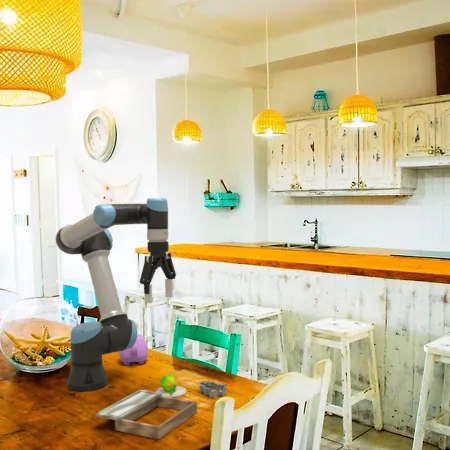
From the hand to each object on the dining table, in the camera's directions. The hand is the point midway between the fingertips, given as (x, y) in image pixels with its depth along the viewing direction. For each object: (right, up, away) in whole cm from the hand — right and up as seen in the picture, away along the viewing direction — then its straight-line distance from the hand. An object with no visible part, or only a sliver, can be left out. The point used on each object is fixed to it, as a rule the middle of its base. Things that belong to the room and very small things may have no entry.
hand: (159, 299), depth 197 cm
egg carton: (+19, -35, +3) cm, 40 cm away
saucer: (+4, -35, +4) cm, 35 cm away
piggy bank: (-17, -34, +44) cm, 58 cm away
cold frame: (-1, -36, -21) cm, 41 cm away
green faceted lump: (+4, -34, +3) cm, 35 cm away
